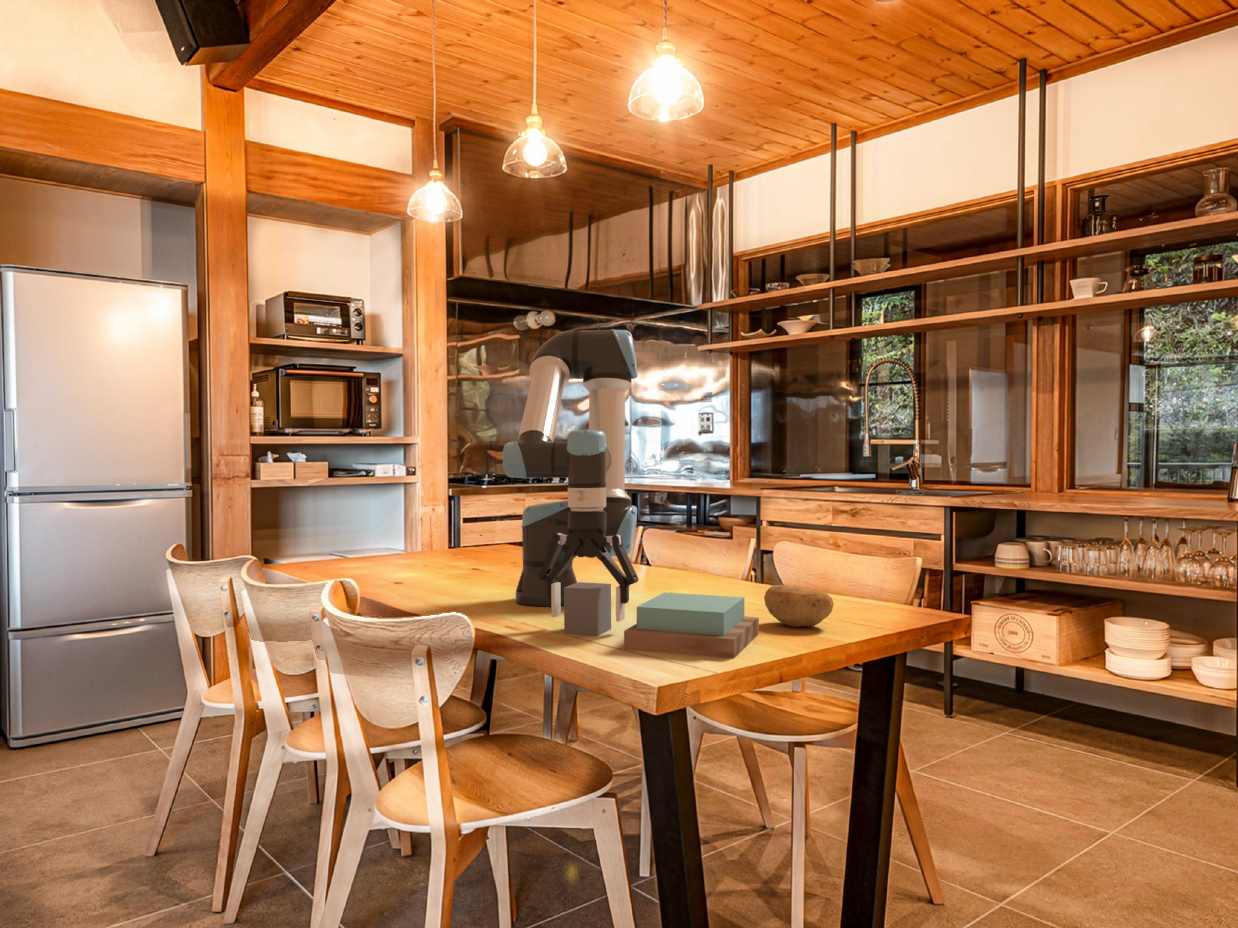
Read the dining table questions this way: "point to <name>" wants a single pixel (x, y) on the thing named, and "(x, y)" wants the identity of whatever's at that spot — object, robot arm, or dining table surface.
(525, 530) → the robot arm
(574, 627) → the block
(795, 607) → the potato
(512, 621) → the dining table surface
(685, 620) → the block top
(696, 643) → the block bottom
